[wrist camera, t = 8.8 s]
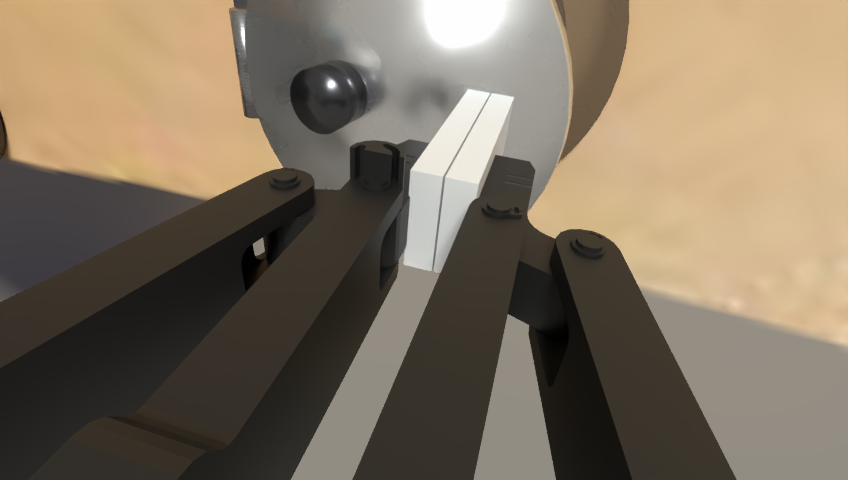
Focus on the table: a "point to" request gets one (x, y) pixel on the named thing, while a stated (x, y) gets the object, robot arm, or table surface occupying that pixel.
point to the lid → (400, 75)
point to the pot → (588, 57)
